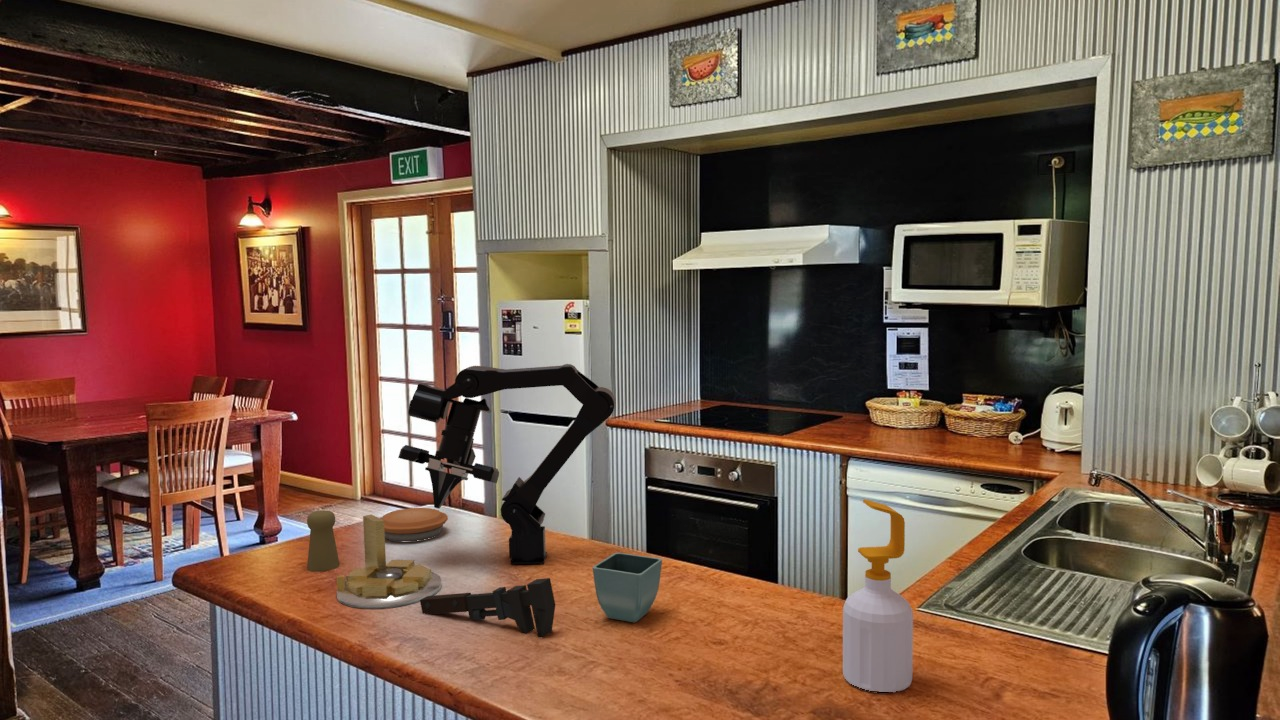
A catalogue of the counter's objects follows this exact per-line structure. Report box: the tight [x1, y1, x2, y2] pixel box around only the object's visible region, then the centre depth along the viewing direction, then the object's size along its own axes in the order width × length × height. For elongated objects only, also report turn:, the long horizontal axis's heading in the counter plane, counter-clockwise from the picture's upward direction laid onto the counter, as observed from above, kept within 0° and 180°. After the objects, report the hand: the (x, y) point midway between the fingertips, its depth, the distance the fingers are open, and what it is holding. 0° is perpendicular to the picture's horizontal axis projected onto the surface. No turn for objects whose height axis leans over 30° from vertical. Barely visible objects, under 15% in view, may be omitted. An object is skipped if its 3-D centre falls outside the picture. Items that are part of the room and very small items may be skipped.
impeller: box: [336, 568, 442, 610], centre depth 155 cm, size 18×18×3 cm
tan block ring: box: [345, 514, 432, 596], centre depth 155 cm, size 16×14×10 cm
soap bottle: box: [842, 498, 914, 693], centre depth 116 cm, size 9×9×25 cm
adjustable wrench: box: [419, 577, 556, 638], centre depth 139 cm, size 8×3×25 cm
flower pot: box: [592, 552, 663, 623], centre depth 141 cm, size 9×9×9 cm
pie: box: [379, 507, 449, 542], centre depth 190 cm, size 15×16×5 cm
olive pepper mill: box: [306, 509, 340, 573], centre depth 169 cm, size 6×6×11 cm
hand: (436, 508), depth 166 cm, fingers closed
